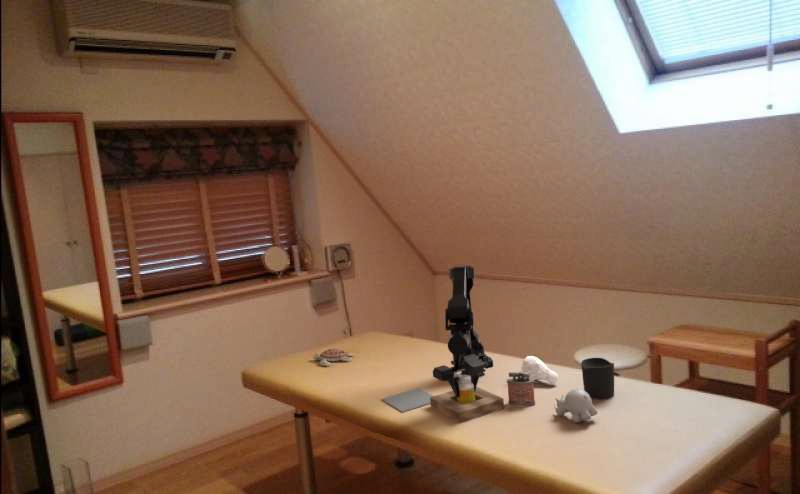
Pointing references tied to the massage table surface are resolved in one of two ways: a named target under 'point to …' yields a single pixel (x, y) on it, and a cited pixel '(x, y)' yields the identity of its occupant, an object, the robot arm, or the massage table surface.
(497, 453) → the massage table surface
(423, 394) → the mat
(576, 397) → the round bodied animal figurine
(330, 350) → the decorative turtle
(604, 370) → the pen holder
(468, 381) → the supplement bottle
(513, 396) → the lighter
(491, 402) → the pocket block
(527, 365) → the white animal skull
